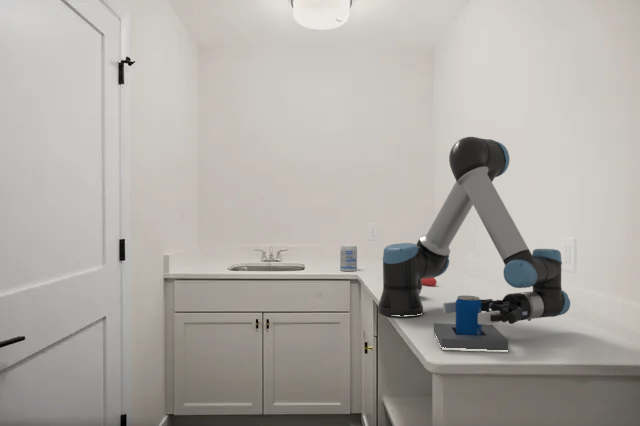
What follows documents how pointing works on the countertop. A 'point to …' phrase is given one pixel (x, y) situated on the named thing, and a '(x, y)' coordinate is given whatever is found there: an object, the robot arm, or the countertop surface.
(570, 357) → the countertop surface
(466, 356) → the countertop surface
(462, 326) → the beverage can
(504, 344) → the socket plate
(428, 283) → the stress ball
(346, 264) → the supplement tub
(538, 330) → the countertop surface
